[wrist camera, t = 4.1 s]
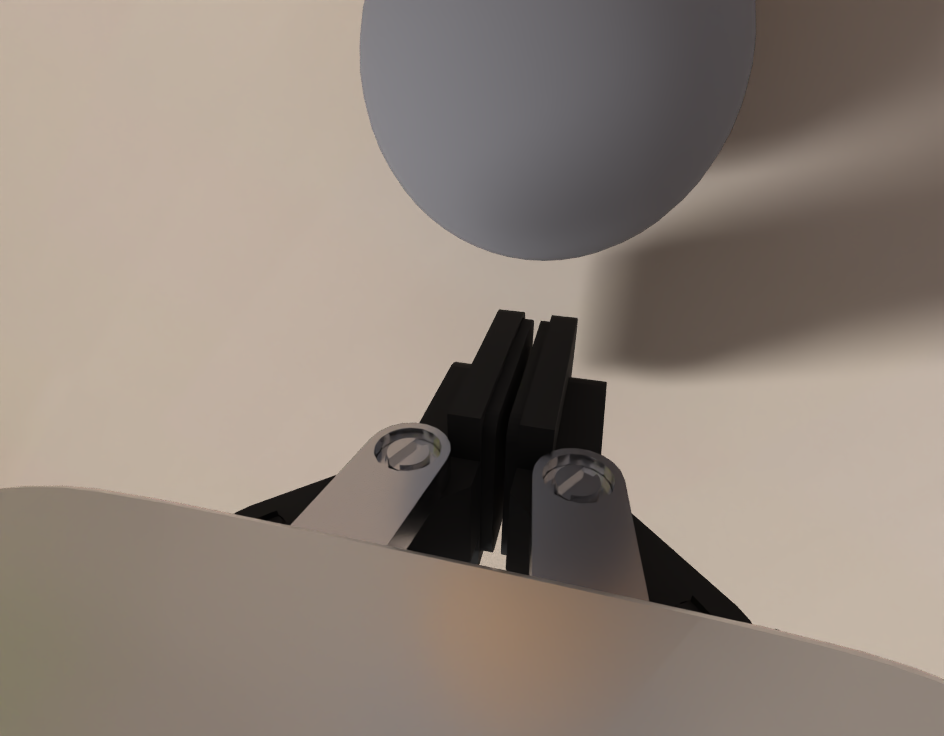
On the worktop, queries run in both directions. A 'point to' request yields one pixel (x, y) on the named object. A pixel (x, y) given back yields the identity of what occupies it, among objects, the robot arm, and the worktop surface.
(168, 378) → the worktop surface
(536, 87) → the grey sphere
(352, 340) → the worktop surface
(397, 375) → the worktop surface
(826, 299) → the worktop surface
